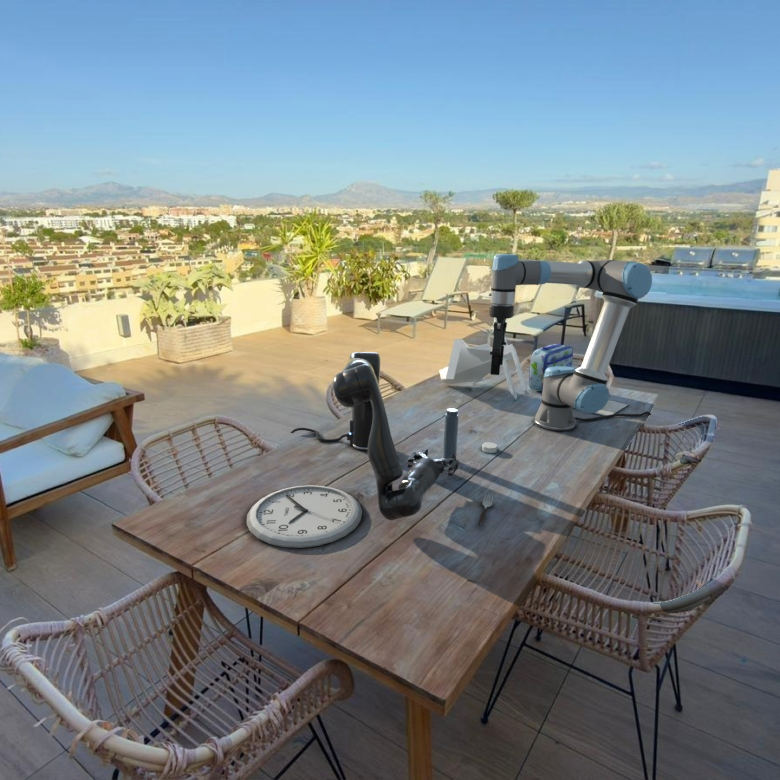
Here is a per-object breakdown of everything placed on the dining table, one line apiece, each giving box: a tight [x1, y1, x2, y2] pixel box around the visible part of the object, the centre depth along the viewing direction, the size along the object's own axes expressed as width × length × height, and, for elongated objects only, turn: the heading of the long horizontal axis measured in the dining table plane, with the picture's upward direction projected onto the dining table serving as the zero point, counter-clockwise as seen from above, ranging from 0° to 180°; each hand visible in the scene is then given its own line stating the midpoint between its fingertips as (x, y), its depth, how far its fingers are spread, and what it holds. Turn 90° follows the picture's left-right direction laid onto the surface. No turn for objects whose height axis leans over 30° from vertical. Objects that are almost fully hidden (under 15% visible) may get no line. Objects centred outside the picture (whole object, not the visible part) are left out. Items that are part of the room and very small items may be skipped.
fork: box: [477, 491, 494, 527], centre depth 140 cm, size 3×16×2 cm, turn 160°
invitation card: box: [595, 399, 629, 416], centre depth 226 cm, size 21×1×15 cm
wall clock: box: [246, 484, 363, 549], centre depth 137 cm, size 30×2×30 cm
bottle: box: [442, 407, 460, 465], centre depth 168 cm, size 4×4×18 cm
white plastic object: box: [438, 318, 531, 400], centre depth 245 cm, size 37×45×31 cm
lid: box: [481, 441, 498, 454], centre depth 180 cm, size 5×5×2 cm
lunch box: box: [528, 343, 574, 392], centre depth 248 cm, size 26×11×21 cm, turn 134°
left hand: (440, 453), depth 159 cm, fingers open, 8 cm apart
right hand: (496, 369), depth 172 cm, fingers open, 13 cm apart
